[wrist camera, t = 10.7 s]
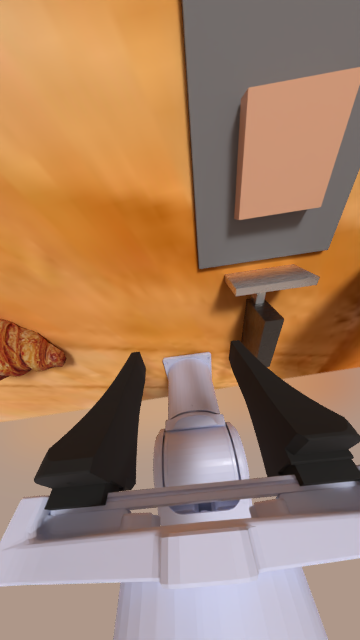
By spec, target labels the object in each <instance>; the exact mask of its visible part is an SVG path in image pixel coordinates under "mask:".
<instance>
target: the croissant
mask: <svg viewBox="0 0 360 640" xmlns="http://www.w3.org/2000/svg"><path fill="white" fill-rule="evenodd" d="M65 361H66V357H65V354H63V352H62V351H61V350H60V349H58V348H56V347H54V346H53V345H52V344H50V343H48V342H47V341H46V339H44V338H43V337H42V336H40V335H39V334H38V333H35V332H34V331H32V330H27V329H25V328H22V327H19V326H17V325H15V324H14V323H12V322H9V321H6V320H3V319H0V380H2V379H4V378H6V377H9V376H15V377H17V376H21V375H24V374H26V373H27V372H29V371H30V370H32V369H33V370H35V371H41V370H47V369H49V368H53V367H56V366H57V367H61V366H63V365H64V363H65Z"/></svg>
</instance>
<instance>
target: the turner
mask: <svg viewBox="0 0 360 640" xmlns="http://www.w3.org/2000/svg"><path fill="white" fill-rule="evenodd" d="M319 278H320V277H319V276H317V275H315V274H313V273H311V272H309V271H306V270H304V269H302V268H300V267H298V266H296V265H294V264H292V265H285V266H279V267H272V268H265V269H258V270H252V271H245V272H238V273H232V274H225V282H226V283H227V285H228V286H229V288H230V289H231V290H232V292H233V293H234V295H235V296H242V295H249V294H251V299H247V301H246V309H245V317H244V325H243V332H242V340H241V343H242V344H243V345H244V346H245V347H246V348H247V349H248V350H249V351H250V352H251V353H252V354H253V355H254V356H255V357H256V358H257V359H258V360H259V361H260V362H261V363H262V364H264V365H265V366H266V367H270V363H271V360H272V357H273V354H274V351H275V347H276V344H277V341H278V338H279V335H280V331H281V328H282V325H283V322H284V318H283V317H282V316H281V315H280V314H279V313H278V312H277V311H276V310H275V309H274V308H273V307H272V306H271V305H270V304H269V303H268V302H267V301H266V300H265V295H266V292H270V291H276V290H283V289H290V288H297V287H304V286H311V285H317V283H318V280H319Z"/></svg>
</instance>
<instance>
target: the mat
mask: <svg viewBox="0 0 360 640" xmlns="http://www.w3.org/2000/svg"><path fill="white" fill-rule="evenodd" d="M182 14H183V29H184V45H185V61H186V76H187V92H188V107H189V123H190V139H191V154H192V170H193V185H194V201H195V216H196V232H197V248H198V263H199V269H203V268H210V267H217V266H223V265H230V264H236V263H243V262H250V261H256V260H263V259H270V258H276V257H283V256H290V255H296V254H303V253H310V252H316V251H323V250H328V248H329V246H330V243H331V241H332V238H333V236H334V233H335V230H336V228H337V225H338V223H339V220H340V218H341V215H342V212H343V210H344V207H345V205H346V202H347V200H348V197H349V194H350V192H351V189H352V187H353V184H354V182H355V179H356V176H357V174H358V171H359V169H360V85H359V88H358V92H357V95H356V98H355V101H354V104H353V107H352V110H351V114H350V117H349V120H348V123H347V126H346V129H345V132H344V136H343V139H342V142H341V145H340V148H339V151H338V155H337V158H336V161H335V164H334V167H333V170H332V173H331V177H330V180H329V183H328V186H327V189H326V192H325V196H324V199H323V202H322V205H321V207H319V208H312V209H306V210H300V211H293V212H287V213H281V214H274V215H268V216H262V217H256V218H249V219H243V220H236V219H234V211H235V194H236V176H237V159H238V141H239V124H240V106H241V98H242V97H243V95H244V94H245V92H246V91H247V89H248V88H250V87H255V86H260V85H266V84H271V83H276V82H282V81H287V80H293V79H298V78H303V77H309V76H314V75H319V74H325V73H330V72H335V71H341V70H346V69H351V68H357V67H360V0H182Z"/></svg>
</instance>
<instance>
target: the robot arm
mask: <svg viewBox="0 0 360 640" xmlns="http://www.w3.org/2000/svg"><path fill="white" fill-rule="evenodd" d="M229 360H230V364H231V367H232V370H233V373H234V375H235V378H236V380H237V382H238V385H239V387H240V389H241V392H242V394H243V396H244V399H245V401H246V404H247V407H248V410H249V413H250V416H251V419H252V423H253V426H254V430H255V433H256V436H257V440H258V443H259V447H260V450H261V455H262V458H263V462H264V466H265V470H266V474H267V477H265V478H254V479H250V478H249V470H248V464H247V460H246V456H245V452H244V448H243V445H242V442H241V439H240V436H239V434H238V432H237V430H236V428H235V427H234V426H233V425H232V424H231V423H230V422H225V420H224V417H223V414H220V412H219V408H218V404H217V399H216V395H215V391H214V387H213V383H212V374H211V354H210V353H209V352H206V353H198V354H191V355H183V356H175V357H168V358H164V359H163V364H164V367H165V370H166V374H167V377H168V380H169V395H168V400H169V401H168V402H169V403H168V405H169V407H168V412H169V414H168V420H166V428H165V429H161V430H160V432H159V434H158V435H157V437H156V441H155V447H154V459H153V475H154V486H155V488H154V489H153V488H152V489H142V490H132V491H126V490H131V489H132V488H133V487H134V485H135V484H136V455H137V435H138V423H139V413H140V406H141V401H142V395H143V389H144V384H145V372H146V368H145V365H144V362H143V360H142V357H141V354H140V352H133V353H131V355H130V356H129V358H128V360H127V361H126V363H125V365H124V366H123V368H122V369H121V371H120V372H119V374H118V376H117V377H116V379H115V380H114V381H113V383H112V384H111V385H110V387H109V388H108V390H107V391H106V392H105V393H104V395H103V396H102V397H101V398H100V400H99V401H98V402H97V403H96V404H95V405H94V406H93V408H92V409H91V410H90V411H89V412H88V413H87V414H86V415H85V416H84V417H83V418H82V419H81V420H80V421H79V422H78V423H77V424H76V425H75V426H74V427H73V428H72V429H71V430H70V431H69V432H68V433H67V434H66V435H64V436H63V437H62V438H61V439H60V440H59V441H58V442H57V443H55V444H54V445H53V446H52V447H51V448H49V450H48V452H47V453H46V455H45V457H44V459H43V461H42V464H41V466H40V468H39V470H38V472H37V474H36V476H35V478H34V482H35V483H37V484H39V485H42V486H46V487H49V488H52V491H51V494H50V496H34V497H24V498H23V499H21V501H20V503H19V505H18V507H17V509H16V511H15V513H14V515H13V517H12V519H11V521H10V523H9V525H8V527H7V529H6V531H5V533H4V535H3V537H2V539H1V541H0V586H15V585H42V584H76V583H114V582H121V583H120V592H119V599H118V608H117V615H116V622H115V630H114V638H113V640H328V638H327V635H326V632H325V630H324V627H323V624H322V621H321V619H320V616H319V613H318V610H317V608H316V605H315V602H314V599H313V597H312V594H311V591H310V588H309V586H308V583H307V580H306V578H305V575H304V572H303V569H302V566H309V565H316V564H322V563H329V562H336V561H343V560H350V559H357V558H360V465H355V463H354V462H353V461H352V459H353V458H354V457H353V455H352V454H351V452H350V451H349V450H348V449H349V448H351V447H353V446H354V445H356V444H357V443H359V442H360V435H359V434H357V432H356V430H355V429H354V428H353V427H352V425H351V424H350V423H349V422H348V421H347V420H346V419H345V418H344V417H342V416H341V415H339V414H337V413H335V412H333V411H331V410H329V409H327V408H326V407H324V406H322V405H320V404H319V403H317V402H315V401H313V400H312V399H310V398H308V397H307V396H305V395H303V394H302V393H300V392H299V391H298V390H296V389H294V388H293V387H291V386H290V385H289V384H287V383H286V382H284V381H283V380H282V379H281V378H279V377H278V376H277V375H275V374H274V373H273V372H272V371H270V370H269V369H268V368H267V367H266V366H265V365H264V364H262V363H261V362H260V361H259V360H258V359H257V358H256V357H255V356H254V355H253V354H252V353H251V352H250V351H249V350H248V349H247V348H246V347H245V346H244V345H243V344H242V343H241V342H240V341H239V340H237V341H231V345H230V354H229ZM166 362H167V363H166ZM119 491H122V492H119ZM271 496H277V497H276V499H272V500H266V501H260V502H255V503H254V505H253V506H252V500H251V498H260V497H271ZM156 507H158V515H159V516H158V515H153V514H152V513H131V511H130V510H135V509H146V508H156ZM160 524H161V526H160Z"/></svg>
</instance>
